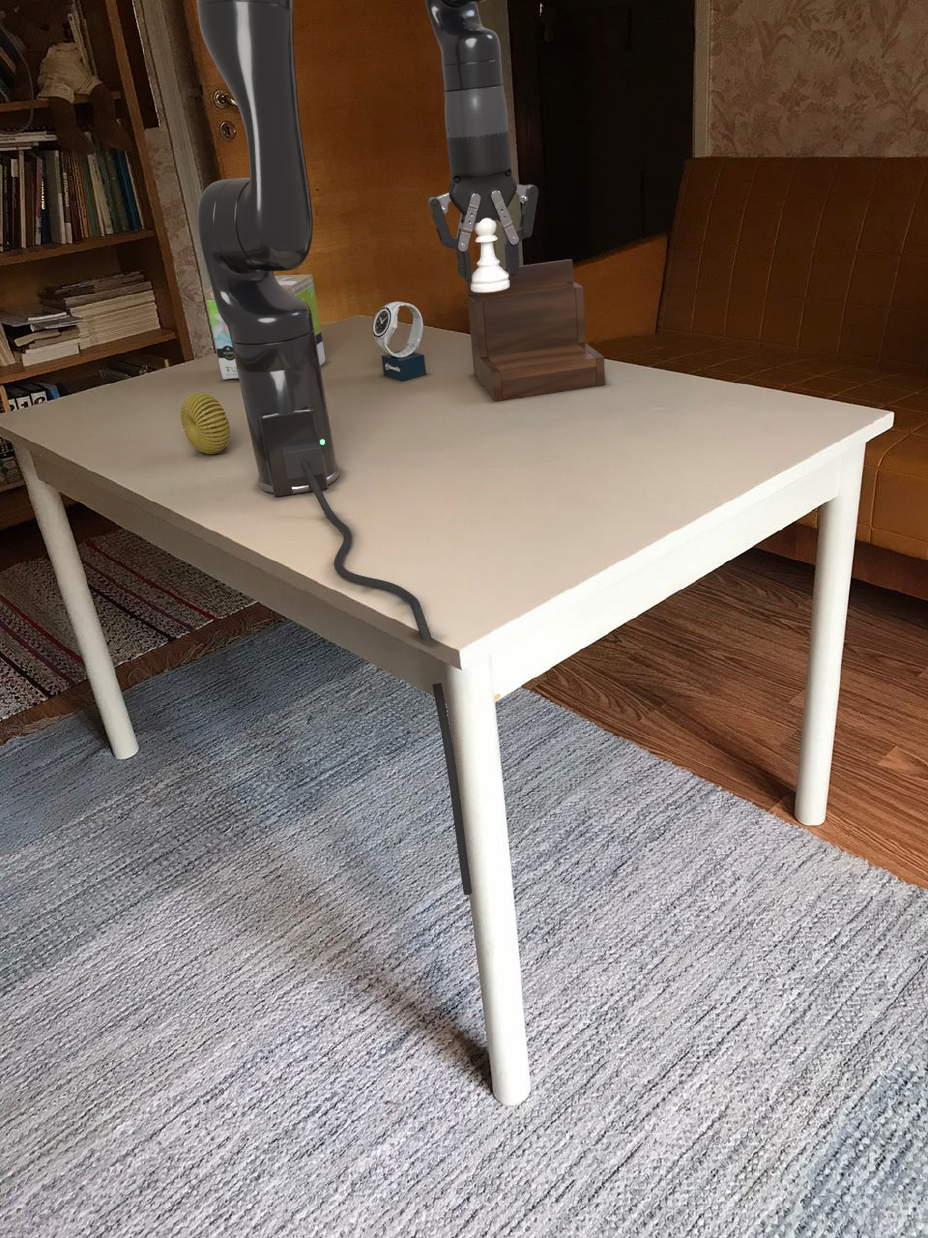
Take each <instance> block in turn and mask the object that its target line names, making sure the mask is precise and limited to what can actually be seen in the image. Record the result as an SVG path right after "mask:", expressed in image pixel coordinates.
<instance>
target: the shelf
mask: <svg viewBox="0 0 928 1238" xmlns="http://www.w3.org/2000/svg"><path fill="white" fill-rule="evenodd" d="M573 261H574V260H573V259H571V258H570V259H562V260H555V261H547V262H540V263H534V264H533V263H531V264H524V265H520V266H519V270H516V271H515V276H509V278H508V280H509V283H510V286H509V288H507V289H505V290H502V291H497V292H489V293H477V292H473V291H472V290H471V283H472V282H466V281H465V290H466V300H467V310H468V312H467V313H468V322H469V323H468V324H469V331H470V333H469V334H470V343H471V344H470V345H471V353H472V355H471V356H472V363H473V364H472V366H473V374H474V375H473V376H474V377H475V378H476V380H477V381H478V382H479V383H480V384H481V386H482V387H483V388H484V390H485V391H486V392H487V393H488V395H489V396H490V397H491V399H492V400H493V401H494V402H500V401H507V400H514V399H521V398H526V397H533V396H539V395H547V394H553V393H561V392H567V391H574V390H581V389H586V388H587V389H588V388H593V387H600V386H605V385H606V374H605V373H606V371H605V368H606V367H605V356H604V355H602V354H601V353H599V351H597V350H595V349H594V348H593V347H591V345H590V344H588V343H586V342H587V341H586V340H587V339H586V319H585V318H586V316H585V315H586V313H585V293H584V292H585V291H584V290H585V289H584V286H583V285H581V284H580V283H578V282H576V281H574V264H573ZM501 268H502V269H504V270H505V271H506V267H501ZM474 272H475V271H473V272H472V271H471V274H472V275H473V273H474Z"/></svg>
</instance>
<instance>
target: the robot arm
mask: <svg viewBox="0 0 928 1238" xmlns="http://www.w3.org/2000/svg"><path fill="white" fill-rule="evenodd" d="M487 1H488V0H424V2H425V3H424V4H425V7H426V10H427V13H428V17H429V20H430V24H431V27H432V30H433V33H434V37H435V39H436V42H437V45H438V47H439V52H440V62H441V72H442V73H441V74H442V83H443V90H444V92H443V94H444V95H443V97H444V99H443V100H444V101H443V106H444V107H443V112H444V113H443V115H444V116H443V117H444V132H445V136H446V147H447V155H448V156H447V157H448V167H449V177H450V178H449V179H450V183H449V187H448V188H447V189H448V190H447V192H445V193H443V194H441V195H438V196H430V197H428V199H427V205H428V208H429V211H430V215H431V218H432V221H433V223H434V226H435V230H436V233H437V236H438V239H439V241H440V244H441V245H442V246H444V247H445V248H447V249H452V250H455V253H456V264H457V273H458V275H459V276H460V278H463V280H464V281H465V283H466V282H471V281H472V274H471V273H472V265H471V253H470V250H469V249H468V247H469V242H470V239H471V235H472V233H473V231H474V223H479V222H481V220H483V219H485V218H490V219H491V220H493V221H494V220H496V223H497V224H498V225H499V228H500V230H501V231H502V234H503V236H504V238H505V243H504V257H505V258H504V259H505V268H506V272H507V273H508V274H509V276H515V271H516V270H519V266H521V264H520V253H519V252H520V251H519V244H520V242H521V241H522V240H524V239H526V238H530V237H532V235H533V231H534V225H535V217H536V212H537V205H538V198H539V188H538V186H535V185H534V184H519V183H517V181H516V180H515V178H514V176H513V171H512V170H513V169H512V156H511V142H510V127H509V112H508V111H509V110H508V102H507V98H506V93H505V87H504V73H503V71H504V70H503V59H502V57H503V56H502V48H501V41H500V38H499V36H498V34H497V33H496V32H495V31H494V30H492V29H490V28H486V27H484V26H483V23H482V20H481V15H480V14H479V13H480V12H479V9H478V4H480V3H483V2H487ZM293 3H294V1H293V0H196V7H197V9H196V10H197V19H198V25H199V30H200V34H201V37H202V40H203V43H204V45H205V47H206V49H207V52H208V54H209V56H210V58H211V60H212V62H213V64H214V66H215V67H216V69H217V71H218V72H219V73H218V74H219V75H220V77H221V78H222V80H223V81H224V83H225V85H226V87H227V89H228V90H229V92H230V94H231V96H232V98H233V100H234V102H235V104H236V106H237V109H238V111H239V114H240V116H241V119H242V124H243V127H244V132H245V137H246V145H247V153H248V164H249V177H237V178H224V179H219V180H216V181H214V182H212V183H210V184H209V185H208V186H207V187H206V188H205V189H204V191H203V192H202V194H201V196H200V199H199V202H198V207H197V215H196V216H197V233H198V237H199V243H200V249H201V252H202V257H203V262H204V264H205V267H206V271H207V275H208V279H209V280H208V281H209V284H210V288H212V291H213V295H214V299H215V303H216V306H217V309H218V311H219V313H220V315H221V317H222V319H223V320H224V322H225V323H226V325H227V327H228V330H229V333H230V338H231V342H232V347H233V352H234V357H235V362H236V367H237V372H238V377H239V378H238V381H239V387H240V392H241V396H242V401H243V405H244V410H245V416H246V420H247V425H248V429H249V435H250V440H251V444H252V449H253V454H254V458H255V459H254V460H255V463H256V469H257V472H258V483H259V486H260V488H261V490H263V491H264V492H267V493H271V494H273V496H274V497H283V496H290V495H295V494H296V495H297V494H303V493H309V492H313V494H314V496H315V498H316V500H317V502H318V504H319V506H320V507H321V510H322V511H323V513H324V515H325V516H326V518H327V520H329V522H330V523H331V524H332V525H333V526H334V527H335V528H336V529H338V530H339V531H340V532H341V534H342V535H343V541H342V544H341V545H340V548H339V549H338V551H337V552H336V554H335V557H334V559H333V565H334V569H335V571H336V573H337V574H338V576H340V578H343V579H344V580H345V581H348V582H350V583H353V584H356V585H360V586H363V587H369V588H374V589H379V590H382V591H386V592H389V593H391V594H393V595H396V596H397V597H399V598H401V599H402V600H403V601H405V602H406V603H407V604H408V605H409V606H410V609H411V611H412V614H413V617H414V620H415V624H416V626H417V628H418V632H419V635H420V639H421V640H422V641H424V642H428V641H431V640H432V635H431V631H430V628H429V626H428V622H427V620H426V618H425V613H424V611H423V608H422V605H421V603H420V601H419V599H418V598H417V597H416V596H415V595H414V594H412V593H411V592H410V591H408V590H406V589H405V588H403V587H402V586H401V585H398V584H395V583H393V582H390V581H387V580H383V579H380V578H373V577H370V576H365V575H361V574H358V573H354V572H351V571H349V570H348V569H347V568H346V567H345V566H344V559H345V557H346V556H347V554H348V552H349V550H350V548H351V546H352V543H353V535H352V532H351V529H350V528H349V527H348V525H346V524H345V523H344V522H343V521H342V520H341V519H339V517H338V516H337V515H336V514H335V513H334V511H333V510H332V508H331V506H330V504H329V503H328V501H327V499H326V497H325V495H324V493H323V490H327V489H329V485H331V484H332V483H333V482H335V481H336V480H337V479H338V478H339V476H340V471H339V466H338V463H337V459H336V452H335V446H334V440H333V435H332V428H331V422H330V416H329V410H328V405H327V398H326V392H325V387H324V386H325V385H324V381H323V375H322V369H321V366H320V362H319V356H318V349H317V343H316V337H315V331H314V325H313V319H312V314H311V310H310V307H309V306H308V304H307V303H306V302H304V301H303V300H301V299H299V298H297V297H296V296H294V295H292V294H290V293H289V292H288V291H286V290H285V289H284V288H283V287H282V286H281V285H280V284H279V283H278V282H277V280H276V278H275V276H276V275H275V274H274V272H289V271H294V270H296V269H298V268H300V267H301V266H302V265H303V264H304V262H305V261H306V260H307V258H308V255H309V253H310V250H311V247H312V242H313V230H314V229H313V228H314V223H313V221H314V219H313V218H314V217H313V207H312V197H311V190H310V183H309V177H308V169H307V163H306V156H305V148H304V142H303V134H302V128H301V127H302V126H301V119H300V118H301V117H300V109H299V96H298V86H297V85H298V84H297V73H296V71H297V70H296V58H295V57H296V56H295V39H294V6H293V5H294V4H293ZM516 194H517V196H518V201H519V202H520V203H521V204H522V205H521V210H520V218H519V225H518V227H517V228H515V225H514V221H513V219H512V218H511V215H510V212H509V210H508V208H509V206H510V205H511V202H512V200H513V199H514V197H515V195H516ZM450 202H451V203H452V205H453V206H454V207H455V208H456V209H457V211H459V213H460V217H459V221H458V226H457V232H456V236H455V237H453V236H452V235H451V232H450V229H449V225H448V222H447V219H446V216H445V215H446V214H447V213H448V212H449V204H450ZM431 686H432V690H433V697H434V703H435V708H436V713H437V717H438V723H439V728H440V729H439V730H440V734H441V740H442V748H443V753H444V758H445V766H446V771H447V778H448V786H449V793H450V801H451V808H452V816H453V825H454V832H455V839H456V840H455V842H456V847H457V855H458V863H459V871H460V877H461V878H460V879H461V885H462V891H463V895H465V896H470V895H472V894H473V888H472V882H471V881H472V880H471V874H470V868H469V867H470V866H469V859H468V851H467V843H466V834H465V827H464V819H463V810H462V801H461V794H460V785H459V779H458V773H457V772H458V771H457V765H456V759H455V758H456V757H455V751H454V745H453V740H452V733H451V728H450V721H449V715H448V710H447V705H446V699H445V693H444V689H443V682H437V683H432V684H431Z"/></svg>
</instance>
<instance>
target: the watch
mask: <svg viewBox="0 0 928 1238" xmlns="http://www.w3.org/2000/svg"><path fill="white" fill-rule="evenodd" d="M402 306H404V307H406V308H407V309H408V310H409V311H410V313H411V314H412V317H413V318H412V324H411V327H410V334H409V337H408V340H407V342H406V344H407V346H406V347H405V348H404V349H401V350H397V351H394V352H393V351H391V349H390V348H389V347H388V346H389V344H390V340H391V337H392V336H393V335H394V334H395V331H396V329H397V328H398V313H399V310H400V307H402ZM424 326H425V325H424V322H423V317H422V314H421V311H420V310H419V309H418V308H417V307H416V306H415V305H414V304H411V303H408V302H402V301H392V302H389V303H387V304H386V305H384V306H382V307H380V308H379V309H378V311H377V312H376V314H375V315H374V317H373V320H372V324H371V332H372V335H373V337H374V341H375V343H376V345H377V347H378V349H379V350H380V351H382V352H383V353H384V354H383V355H381V365H382V371H383V376H384V377H388V378H391V379H394V380H397V381H400V382H406V381H408V380H412V379H416V378H419V377H422V376H425V375H427V369H426V362H425V354H423V353H419V352H416V351H415V350H417V349H418V348H419V345H420V343H421V341H422V337H423V332H424Z"/></svg>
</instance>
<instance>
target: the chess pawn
mask: <svg viewBox="0 0 928 1238" xmlns="http://www.w3.org/2000/svg"><path fill="white" fill-rule="evenodd" d="M473 231H474V232H475V234H476V235H477V237H476V238H475V240H474V242H475V243H480V255H479V256H480V257H479V260H478V261H477V262H476V266H477V267H476V270H475V271H473V272H474V273H473V275H472V281H471V282H472V283H471V290H472V291H473V292H477V293H489V292H497V291H502V290H505V289H507V288H509V286H510V283H509V280H508V278H509V274H508V273H507V272H506V271H505V270H504V269H502V268H503V267H501V266H500V262H501V260H500V259H498V258H497V257H496V254H495V249H494V242H496V241H497V240H498V239H499V238H498V237H497V235H495V233H496V231H497V220H494V221H493V220H491V219H490V218H485V219H483V220H481V222H479V223H474V227H473Z"/></svg>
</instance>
